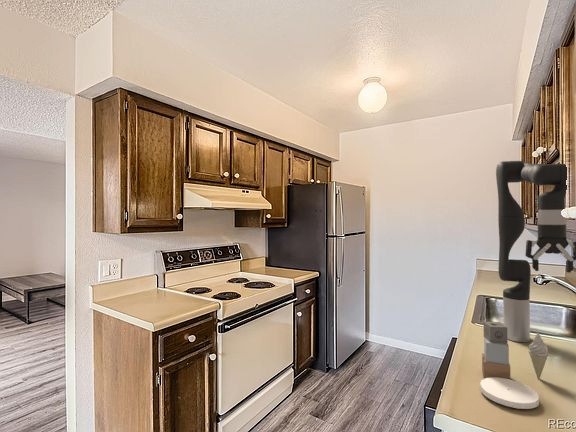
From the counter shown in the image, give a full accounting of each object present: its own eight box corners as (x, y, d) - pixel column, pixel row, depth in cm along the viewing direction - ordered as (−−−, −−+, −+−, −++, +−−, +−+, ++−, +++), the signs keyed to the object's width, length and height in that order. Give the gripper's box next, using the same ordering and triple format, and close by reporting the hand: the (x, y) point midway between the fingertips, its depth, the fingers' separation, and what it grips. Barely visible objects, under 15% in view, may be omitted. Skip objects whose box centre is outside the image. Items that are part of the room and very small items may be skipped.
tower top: (484, 354, 108) (484, 336, 108) (505, 357, 106) (505, 339, 106) (486, 361, 103) (486, 342, 103) (508, 365, 100) (508, 345, 100)
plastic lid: (482, 381, 103) (482, 373, 103) (537, 394, 95) (537, 385, 95) (478, 401, 92) (477, 392, 92) (540, 419, 84) (540, 409, 84)
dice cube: (483, 336, 108) (483, 321, 108) (500, 337, 107) (500, 322, 107) (490, 342, 103) (490, 326, 103) (507, 343, 102) (507, 327, 102)
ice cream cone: (547, 377, 104) (546, 330, 104) (550, 384, 100) (549, 335, 100) (527, 373, 107) (527, 327, 107) (529, 380, 103) (529, 332, 103)
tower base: (482, 371, 109) (482, 353, 109) (507, 375, 106) (506, 357, 106) (484, 380, 103) (483, 361, 103) (510, 385, 100) (510, 366, 100)
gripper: (575, 223, 110) (575, 271, 110) (523, 223, 116) (524, 268, 116) (583, 223, 103) (583, 274, 103) (528, 223, 109) (528, 271, 109)
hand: (552, 271), depth 109 cm, fingers open, 8 cm apart
